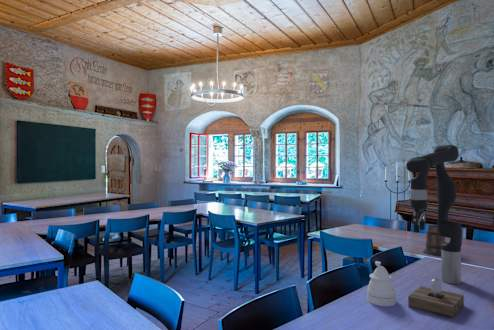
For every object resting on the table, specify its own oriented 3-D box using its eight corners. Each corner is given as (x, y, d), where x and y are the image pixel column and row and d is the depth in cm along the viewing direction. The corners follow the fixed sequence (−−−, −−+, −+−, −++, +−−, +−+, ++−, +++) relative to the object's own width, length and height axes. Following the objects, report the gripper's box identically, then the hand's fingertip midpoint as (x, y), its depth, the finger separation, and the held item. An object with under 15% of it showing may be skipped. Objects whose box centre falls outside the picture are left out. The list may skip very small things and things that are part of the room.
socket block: (421, 295, 169) (421, 285, 169) (463, 305, 157) (463, 294, 157) (408, 306, 156) (408, 295, 156) (453, 318, 144) (453, 306, 144)
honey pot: (361, 298, 167) (360, 261, 167) (381, 294, 172) (380, 258, 173) (381, 308, 156) (380, 268, 156) (402, 303, 161) (401, 264, 161)
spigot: (432, 301, 159) (432, 277, 160) (442, 304, 157) (442, 279, 157) (429, 304, 157) (429, 279, 157) (439, 306, 154) (439, 281, 154)
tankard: (442, 257, 237) (441, 228, 237) (418, 253, 251) (417, 225, 251) (457, 252, 251) (457, 225, 251) (434, 248, 265) (433, 222, 265)
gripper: (415, 196, 178) (416, 228, 178) (405, 199, 168) (406, 232, 168) (431, 197, 173) (432, 229, 173) (422, 200, 163) (422, 234, 163)
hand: (419, 231), depth 171 cm, fingers open, 8 cm apart
